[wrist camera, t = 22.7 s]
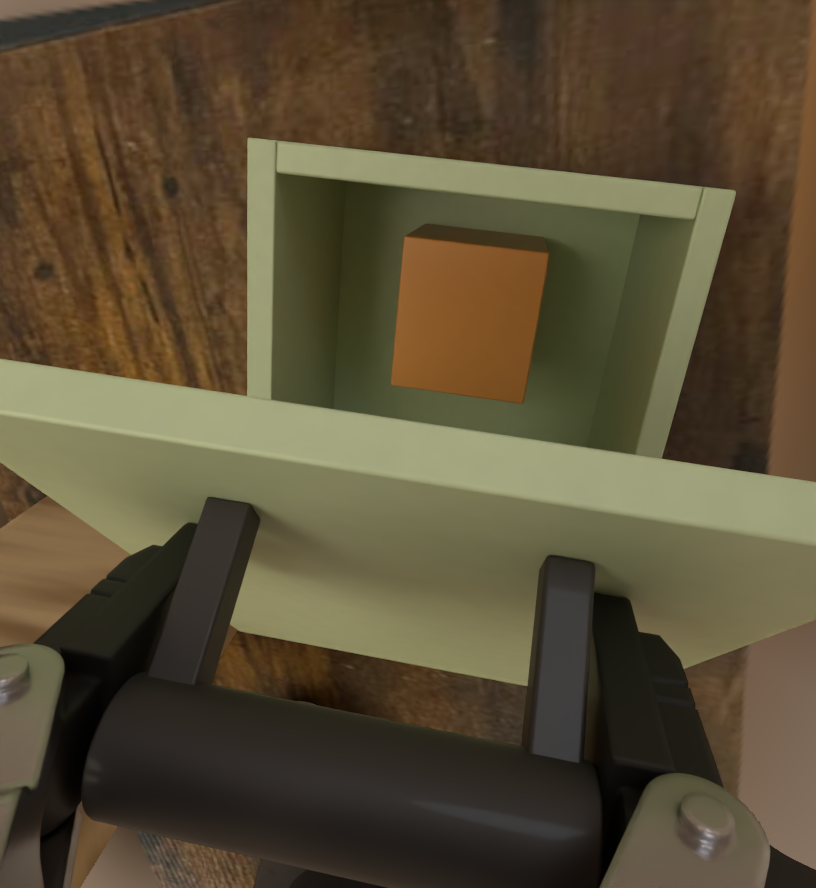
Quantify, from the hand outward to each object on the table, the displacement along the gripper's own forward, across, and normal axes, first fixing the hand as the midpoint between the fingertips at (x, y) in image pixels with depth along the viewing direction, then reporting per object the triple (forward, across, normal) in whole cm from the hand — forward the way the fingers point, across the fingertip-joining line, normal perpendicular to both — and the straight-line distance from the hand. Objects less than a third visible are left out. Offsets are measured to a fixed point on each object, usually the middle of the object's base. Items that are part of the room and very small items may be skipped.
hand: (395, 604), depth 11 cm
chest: (+18, 0, 0) cm, 18 cm away
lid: (+4, 0, +2) cm, 4 cm away
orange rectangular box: (+17, 0, -3) cm, 17 cm away
